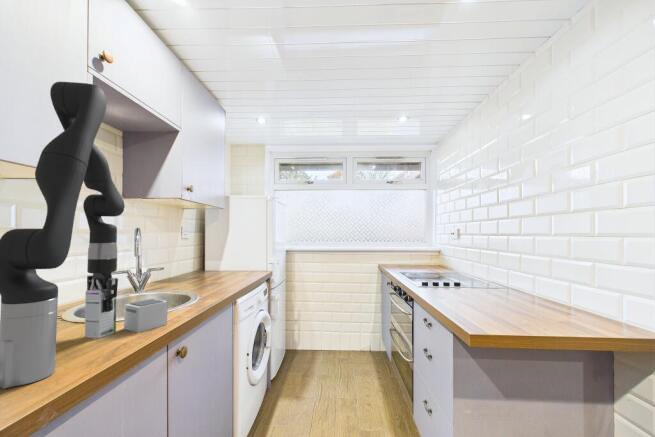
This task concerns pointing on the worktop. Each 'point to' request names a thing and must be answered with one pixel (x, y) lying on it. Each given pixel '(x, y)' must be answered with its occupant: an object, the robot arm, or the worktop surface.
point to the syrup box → (98, 315)
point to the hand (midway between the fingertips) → (101, 309)
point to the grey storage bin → (145, 315)
